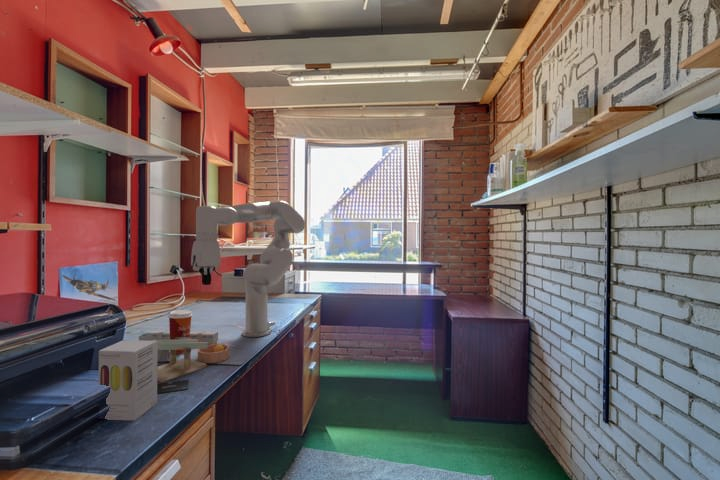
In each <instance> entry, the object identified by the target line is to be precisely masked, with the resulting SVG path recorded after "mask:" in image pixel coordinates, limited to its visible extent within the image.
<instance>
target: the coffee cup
mask: <svg viewBox="0 0 720 480" xmlns="http://www.w3.org/2000/svg"><path fill="white" fill-rule="evenodd" d="M192 316H193V313H192V311H191V310H188V309H179V310H178V309H177V310H173V311H170V312H169V314H168V318H169V320H168V322H169V331H170V340H174V339H175V337H187V338H190V331H191V325H192ZM181 354H184V349H180V350H176V355H181Z"/></svg>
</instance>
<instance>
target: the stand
mask: <svg viewBox="0 0 720 480" xmlns="http://www.w3.org/2000/svg"><path fill="white" fill-rule="evenodd" d="M191 352H192V349H191V347H185V348H184V353H183V358H181V359H179V360H177V354H176V350H169V363H165V364H162V365H157V382H160V383H165V382H166V381H170V380H172V379H175V378H178V377H181V376H184V375H187V374H191V373H192V372H196V371H198V370H199V371H200V370H201V369H204V368H207V366H208V365H207V364H208V363H202V362H199V361H198V360H196V359H194V358H191V356H192V354H191Z"/></svg>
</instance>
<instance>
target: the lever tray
mask: <svg viewBox="0 0 720 480" xmlns="http://www.w3.org/2000/svg"><path fill="white" fill-rule="evenodd" d="M151 341H158V360H157V362H168V358H169V355H170V350H180V349H184V348H185V347H191V350H198V349H207V345H209V344H208V342H198V340H197V339H191V338H187V337H175V339H174V340H151Z"/></svg>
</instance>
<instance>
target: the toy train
mask: <svg viewBox="0 0 720 480" xmlns="http://www.w3.org/2000/svg"><path fill="white" fill-rule="evenodd" d="M190 338H191V339H197V340H198V342H208V345H211V344H218V343H217V342H219V331H206V330H202V331H198V330H197V331H196V330H190ZM138 340H142V341H151V340H170V330H167V329H165V330H164V329H163V330H161V329H160V330H158V329H155V330H150V331H146V332H143V333H142V334H140V335H139V336H138Z"/></svg>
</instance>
